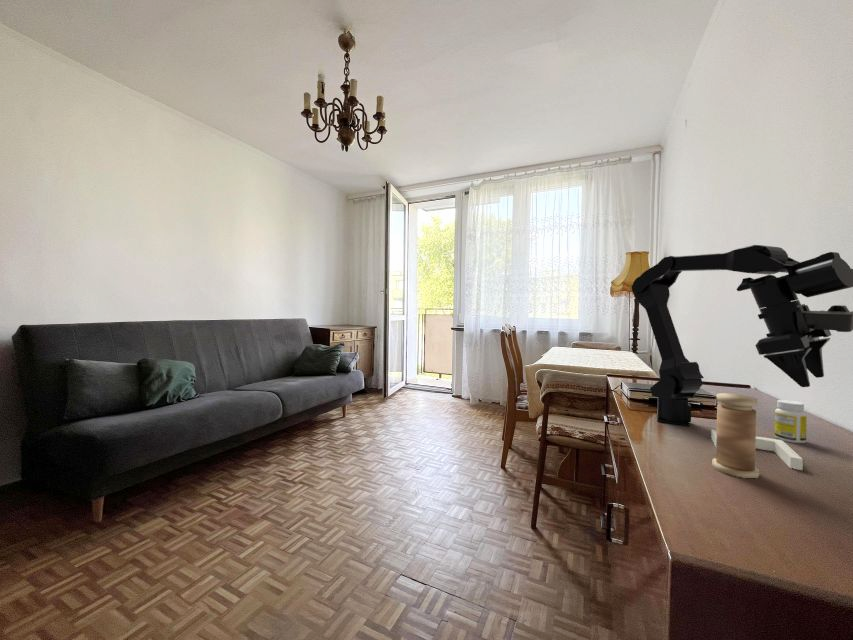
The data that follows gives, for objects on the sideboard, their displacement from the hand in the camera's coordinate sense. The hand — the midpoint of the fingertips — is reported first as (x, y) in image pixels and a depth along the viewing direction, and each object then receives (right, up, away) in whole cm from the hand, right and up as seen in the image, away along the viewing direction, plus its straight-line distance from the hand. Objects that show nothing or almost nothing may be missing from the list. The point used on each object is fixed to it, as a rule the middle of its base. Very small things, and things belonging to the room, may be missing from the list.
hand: (813, 381), depth 64 cm
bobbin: (-20, -15, -5) cm, 25 cm away
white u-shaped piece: (-10, -15, +2) cm, 18 cm away
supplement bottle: (+7, -15, +10) cm, 19 cm away
